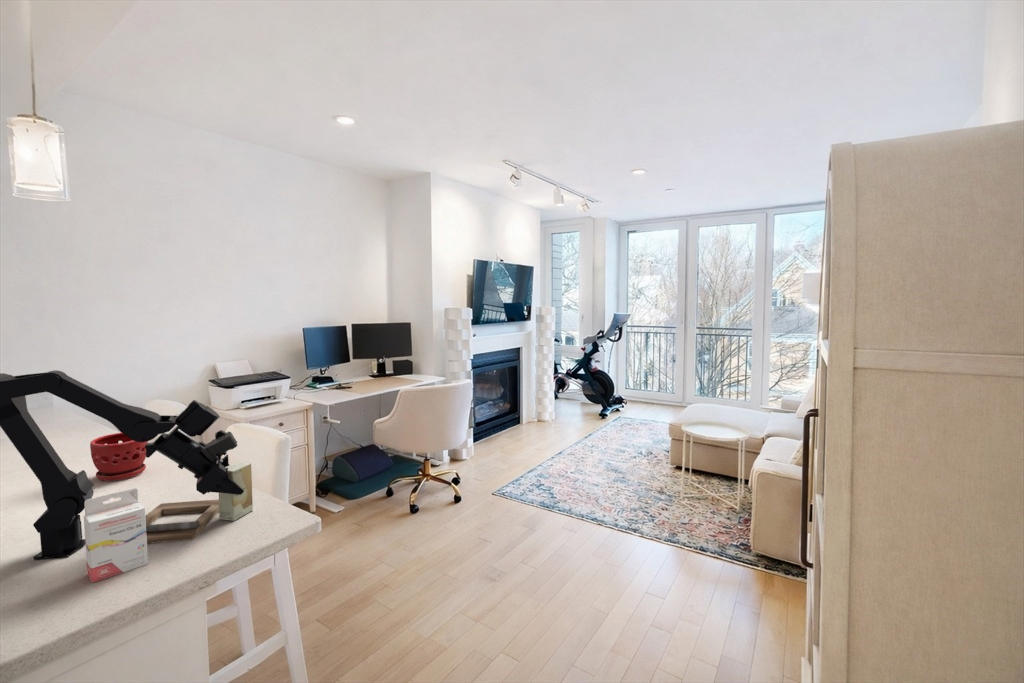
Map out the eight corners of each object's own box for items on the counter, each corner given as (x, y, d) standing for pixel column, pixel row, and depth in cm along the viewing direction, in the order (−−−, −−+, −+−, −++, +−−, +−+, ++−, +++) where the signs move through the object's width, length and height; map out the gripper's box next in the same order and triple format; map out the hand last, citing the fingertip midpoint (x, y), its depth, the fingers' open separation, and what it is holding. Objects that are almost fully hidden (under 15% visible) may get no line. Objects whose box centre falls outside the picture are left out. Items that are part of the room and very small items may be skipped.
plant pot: (81, 482, 134) (77, 441, 133) (128, 466, 147) (125, 429, 146) (115, 486, 131) (112, 445, 130) (160, 470, 144) (158, 432, 143)
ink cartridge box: (91, 584, 85) (85, 507, 84) (86, 574, 88) (81, 500, 87) (149, 564, 92) (144, 492, 90) (142, 555, 95) (138, 486, 93)
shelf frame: (192, 539, 101) (191, 526, 101) (114, 545, 98) (113, 533, 98) (226, 504, 119) (226, 493, 119) (161, 509, 116) (160, 498, 116)
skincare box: (234, 521, 109) (231, 471, 108) (218, 520, 110) (216, 470, 109) (254, 509, 116) (252, 462, 115) (239, 508, 116) (237, 461, 115)
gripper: (211, 433, 101) (270, 472, 108) (214, 415, 117) (265, 450, 124) (169, 475, 98) (232, 512, 104) (177, 451, 113) (232, 485, 120)
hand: (242, 487), depth 113 cm, fingers closed on skincare box, 7 cm apart
